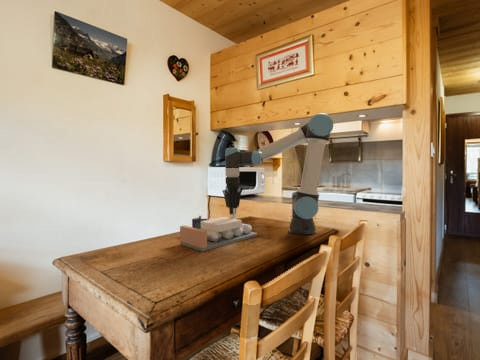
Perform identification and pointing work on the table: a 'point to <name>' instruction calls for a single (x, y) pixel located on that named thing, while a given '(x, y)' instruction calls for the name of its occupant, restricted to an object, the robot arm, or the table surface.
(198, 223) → the flask
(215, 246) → the roller bed
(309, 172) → the robot arm
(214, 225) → the stone slab
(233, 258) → the table surface
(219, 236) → the loose roller
